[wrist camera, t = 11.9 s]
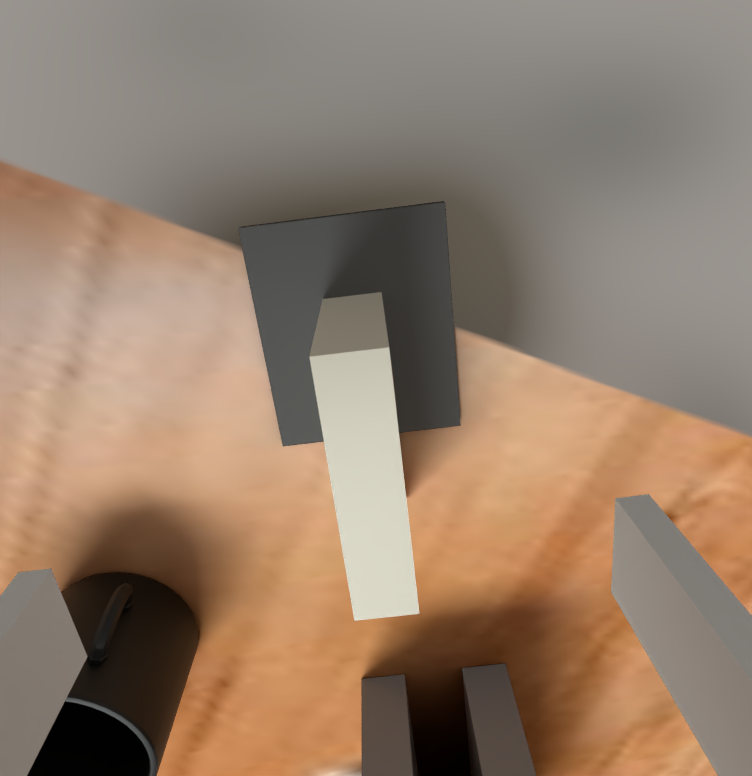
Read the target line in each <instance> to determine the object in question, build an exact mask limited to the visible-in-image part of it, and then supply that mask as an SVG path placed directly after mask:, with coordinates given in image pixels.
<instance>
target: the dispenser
mask: <svg viewBox="0 0 752 776" xmlns="http://www.w3.org/2000/svg"><path fill="white" fill-rule="evenodd" d="M462 673H463V685H464V697H465V709H466V721H467V733H468V745H469V757H470V769H471V776H536V773H535V769H534V765H533V762H532V758H531V754H530V751H529V747H528V744H527V740H526V736H525V733H524V729H523V725H522V722H521V718H520V715H519V711H518V707H517V704H516V700H515V696H514V693H513V689H512V686H511V682H510V678H509V675H508V671H507V667H506V664H505V663H504V664H495V665H486V666H477V667H467V668H462ZM362 776H418V769H417V762H416V755H415V747H414V740H413V733H412V725H411V718H410V711H409V703H408V696H407V689H406V682H405V674H402V675H393V676H384V677H374V678H365V679H362Z"/></svg>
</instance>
